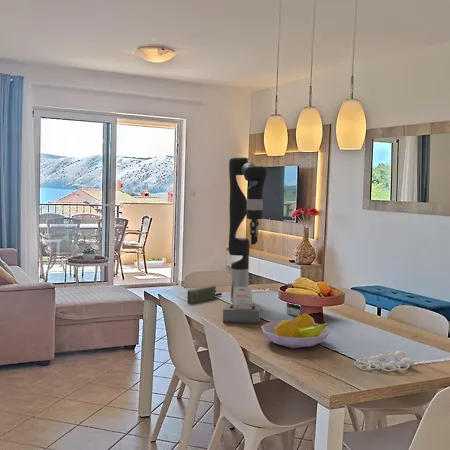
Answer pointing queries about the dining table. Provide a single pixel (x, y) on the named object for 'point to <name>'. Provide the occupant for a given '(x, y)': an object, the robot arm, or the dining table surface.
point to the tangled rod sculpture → (379, 360)
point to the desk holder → (242, 315)
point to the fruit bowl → (296, 332)
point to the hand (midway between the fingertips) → (254, 243)
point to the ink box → (242, 298)
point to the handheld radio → (202, 294)
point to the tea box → (293, 306)
